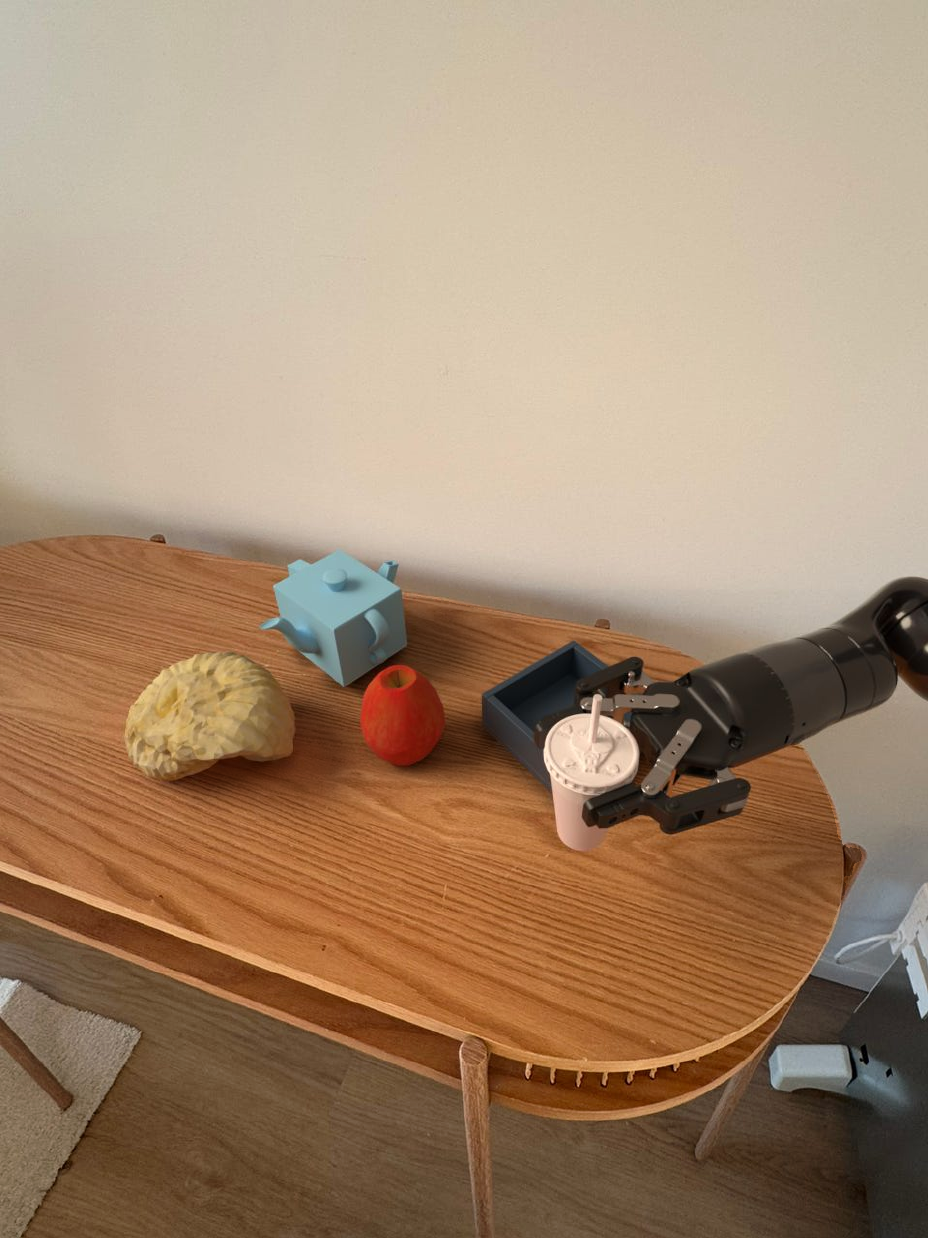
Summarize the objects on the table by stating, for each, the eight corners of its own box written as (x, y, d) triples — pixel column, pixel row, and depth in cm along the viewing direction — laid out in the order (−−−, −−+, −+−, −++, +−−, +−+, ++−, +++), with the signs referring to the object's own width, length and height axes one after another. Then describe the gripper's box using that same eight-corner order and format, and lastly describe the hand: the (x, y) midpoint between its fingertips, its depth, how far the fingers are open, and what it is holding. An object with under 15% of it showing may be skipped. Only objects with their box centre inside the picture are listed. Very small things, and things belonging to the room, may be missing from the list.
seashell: (246, 694, 83) (107, 739, 74) (245, 614, 77) (94, 653, 68) (322, 787, 73) (171, 853, 64) (327, 704, 67) (163, 763, 58)
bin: (657, 741, 74) (665, 708, 70) (566, 808, 68) (570, 774, 65) (570, 672, 81) (573, 639, 78) (481, 726, 76) (481, 693, 72)
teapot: (445, 646, 85) (441, 569, 77) (321, 733, 75) (302, 654, 68) (359, 588, 93) (348, 513, 86) (237, 660, 84) (213, 583, 76)
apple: (463, 746, 74) (460, 671, 67) (401, 795, 69) (391, 720, 62) (409, 704, 78) (401, 629, 71) (348, 747, 74) (333, 672, 67)
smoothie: (625, 800, 57) (648, 673, 48) (623, 874, 52) (649, 749, 43) (543, 789, 58) (551, 663, 49) (534, 861, 53) (541, 736, 44)
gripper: (709, 604, 57) (514, 667, 52) (849, 736, 46) (622, 828, 42) (692, 673, 61) (512, 735, 57) (815, 805, 51) (609, 894, 47)
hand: (560, 774), depth 49 cm, fingers closed on smoothie, 6 cm apart
